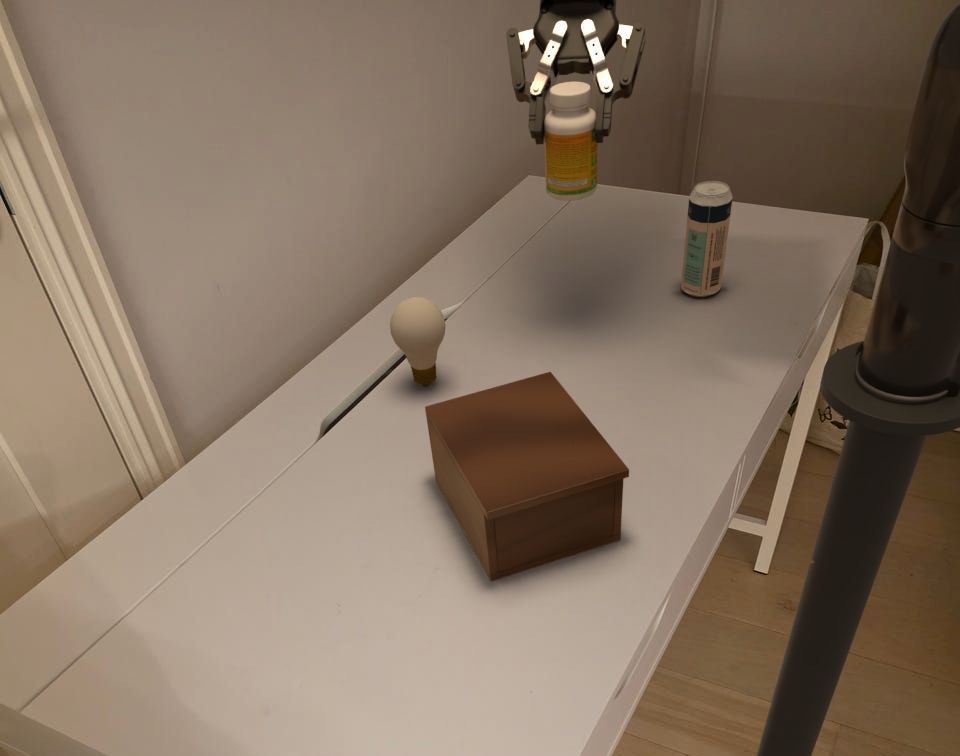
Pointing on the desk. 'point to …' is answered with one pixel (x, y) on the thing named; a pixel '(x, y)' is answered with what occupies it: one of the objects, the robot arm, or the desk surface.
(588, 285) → the desk surface
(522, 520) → the chest
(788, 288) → the desk surface
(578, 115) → the supplement bottle
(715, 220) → the beer can
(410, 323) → the light bulb
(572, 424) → the lid
